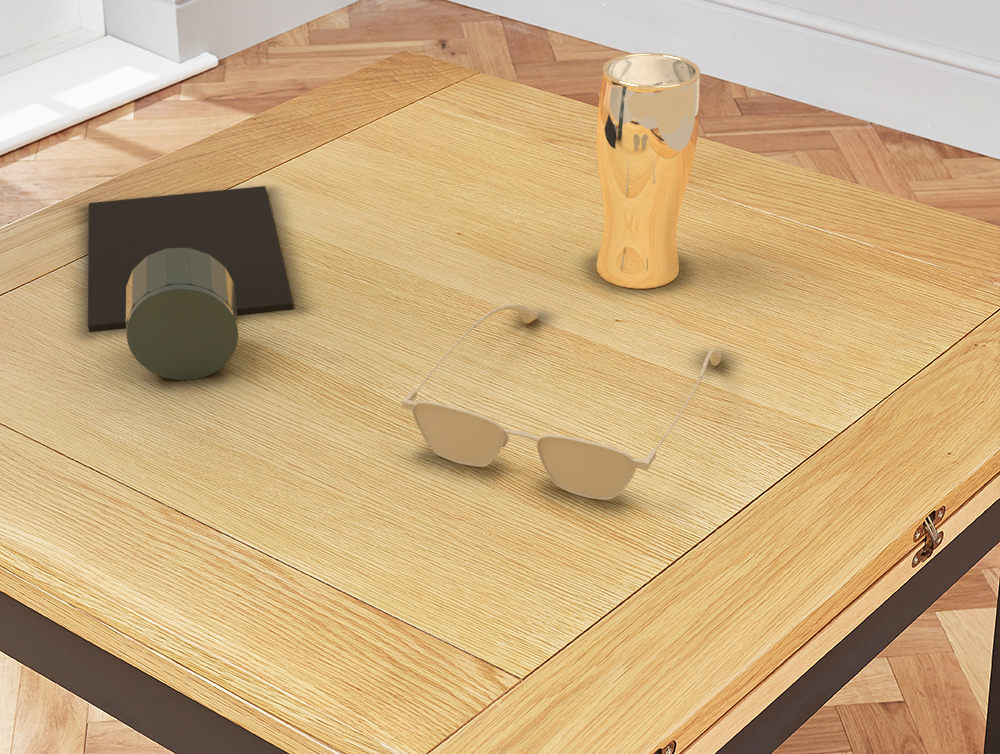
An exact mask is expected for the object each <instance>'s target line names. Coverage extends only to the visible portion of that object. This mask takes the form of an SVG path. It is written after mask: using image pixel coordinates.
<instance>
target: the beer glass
mask: <svg viewBox="0 0 1000 754" xmlns="http://www.w3.org/2000/svg"><path fill="white" fill-rule="evenodd" d="M700 77H701V69H700V67H699V66H698V65H697V64H696V63H694V62H693V61H691V60H689V59H687V58H684V57H681V56H678V55H673V54H667V53H659V52H637V53H635V52H634V53H628V54H622V55H618V56H616V57H613V58H611V59H610V60H607V61H606V62H605V63H604V64H603V66H602V77H601V84H600V91H599V100H598V108H597V119H596V156H597V166H598V174H599V175H598V176H599V183H600V190H601V198H602V207H603V233H602V238H601V243H600V247H599V251H598V254H597V259H596V271H597V273H598V275H599V276H600V277H601V278H602V279H603V280H605V281H606V282H608V283H610V284H612V285H615V286H618V287H622V288H627V289H635V290H646V289H656V288H659V287H663V286H666V285H668V284H670V283H671V282H673V281H674V280H675V279H676V278H677V277H678V275H679V271H680V262H679V255H678V245H677V232H678V231H677V230H678V224H679V223H678V222H679V217H680V213H681V209H682V205H683V201H684V198H685V194H686V191H687V188H688V184H689V181H690V177H691V173H692V169H693V166H694V165H693V164H694V161H695V156H696V150H697V144H698V136H699V122H700V93H701V92H700V85H701V84H700Z"/></svg>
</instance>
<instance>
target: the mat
mask: <svg viewBox="0 0 1000 754" xmlns="http://www.w3.org/2000/svg"><path fill="white" fill-rule="evenodd" d="M167 248H191V249H194V250H197V251H200V252H203V253H206V254H209V255H210V256H212V257H213V258H214V259H215V260H217V261H218V262H219V263H221V264H222V265H223V266H224V267H225V268H226V270H227V272H228V273H229V275H230V277H231V279H232V281H233V283H234V288H235V299H236V309H237V316H241V315H250V314H261V313H267V312H277V311H283V310H284V311H285V310H287V311H288V310H294V307H295V306H294V300H293V296H292V291H291V288H290V284H289V281H288V280H289V279H288V275H287V271H286V267H285V262H284V259H283V255H282V251H281V247H280V242H279V238H278V233H277V228H276V225H275V221H274V215H273V213H272V208H271V204H270V199H269V195H268V191H267V187H266V186H265V185H261V186H251V187H242V188H241V187H240V188H230V189H222V190H221V189H220V190H209V191H200V192H199V191H198V192H188V193H179V194H169V195H161V196H160V195H159V196H157V195H156V196H148V197H137V198H136V197H135V198H125V199H115V200H105V201H96V202H89V203H88V261H87V262H88V266H87V267H88V269H87V270H88V271H87V273H88V274H87V276H88V278H87V286H88V287H87V294H88V295H87V329H88V332H90V333H91V332H101V331H109V330H119V329H126V286H127V283H128V281H129V278H130V276H131V273H132V270H133V269H134V268H135V267H136V266H137V265H138V264H139V263H140V262H141V261H142V260H143V259H144V258H145V257H147V256H148V255H151V254H153V253H156V252H158V251H161V250H164V249H167Z"/></svg>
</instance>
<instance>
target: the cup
mask: <svg viewBox="0 0 1000 754" xmlns="http://www.w3.org/2000/svg"><path fill="white" fill-rule="evenodd" d="M238 323H239V322H238V315H237V309H236V299H235V288H234V283H233V281H232V279H231V277H230V275H229V273H228V272H227V270H226V268H225V267H224V266H223V265H222V264H221V263H219V262H218V261H217V260H215V259H214V258H213V257H212V256H210V255H209V254H206V253H203V252H200V251H197V250H194V249H191V248H167V249H164V250H161V251H158V252H156V253H153V254H151V255H148V256H147V257H145V258H144V259H143V260H142V261H141V262H140V263H139V264H138V265H137V266H136V267H135V268H134V269H133V270H132V273H131V276H130V278H129V281H128V283H127V286H126V328H125V332H126V342H127V345H128V348H129V351H130V352H131V354H132V356H133V358H134V359H136V361H137V362H138V363H139V364H140V366H142V367H144V368H145V369H146V370H148V371H149V372H151V373H153V374H155V375H156V376H159V377H162V378H164V379H170V380H176V381H191V380H192V381H193V380H198V379H202V378H206V377H207V376H210V375H212V374H214V373H215V372H217V371H219V370H220V369H222V368H223V367H224V366H225V365H227V363H228V362H229V361H230V360H231V358H232V357H233V356H234V354H235V351H236V349H237V347H238V342H239V324H238Z"/></svg>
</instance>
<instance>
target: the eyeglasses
mask: <svg viewBox="0 0 1000 754" xmlns="http://www.w3.org/2000/svg"><path fill="white" fill-rule="evenodd" d="M505 310H508V311H514V312H516V313H518V314H519V316H520V318H521V320H522V321H523V322H524V323H525V324H530V323H533V322H534V321H535V320H537V319H538V318H539V316H540V313H538V312H537V310H535V309H533V308H531V307H528V306H526V305H522V304H505V305H501V306H498V307H496V308H493V309H491V310H490V311H488V312H487V313H486V314H484V315H483V316H481V317H480V318H479V319H478V320H477V321H476V322H474V323H472V326H471V327H470V328H469V329H468V331H466V332H465V333H464V334H463V335H462V336H461V337H460V338H459V339H458V341H457V342H456V343H455V344H454V345H453V346H452V347H451V348H450V349H449V350H448V351H447V352H446V353H445V354H444V356H443V357H442V358H441V359H440V360H439V361H438V363H437V364H436V365H435V366H434V367H433V369H432V370H431V371H430V372H429V374H428V375H426V377H425V378H424V379H423V381H422V382H421V383H420V385H419V386H418V387H417V388H416V389H413V388H412V389H411V390H410V391H409V392H408V394H407V395H406V396H405V397H404V398H403V399H402V400H401V408H403V409H406V410H409V411H412V417H413V420H414V422H415V424H416V426H417V428H418V430H419V432H420V434H421V436H422V437H423V439H424V441H425V443H426V444H427V445H428V447H429V449H430V450H431V451H432V452H433V453H435V454H436V455H437V456H439V457H441V458H443V459H445V460H448V461H450V462H453V463H456V464H459V465H464V466H470V467H476V468H477V467H480V468H482V467H487V466H489V465H490V464H491V463H492V462H493V461H495V459H496V458H497V456H498V455H499V453H500V452H501V450H502V448H506V446H507V444H508V441H509V439H510V436H509V435H511V436H518V437H521V438H525V439H527V440H531V441H533V442H536V449H537V454H538V456H539V460H540V461H541V464H542V466H543V468H544V470H545V472H546V474H547V475H548V477H549V478H550V480H551V481H552V483H553V484H554V485H555V486H556V487H558V488H560V489H561V490H564V491H566V492H569V493H571V494H574V495H576V496H580V497H583V498H587V499H592V500H600V501H601V500H602V501H604V500H605V501H606V500H612V499H614V498H616V497H618V496H619V495H620V494H621V493H622V492H623V491H624V489H626V487H627V486H628V484H629V483H630V482H631V480H632V479H633V477H634V475H635V474H636V470H637V469H639V470H644V471H649V469H650V468H651V466H652V464H653V462H654V461H655V459H656V457H657V451H658V449H659V448H660V446H661V445H662V444H663V442H664V440H665V439H666V437H667V436H668V435H669V434H670V432H671V431H672V429H673V427H674V426H675V424H676V423H677V421H678V420H679V419H680V417H681V415H682V414H683V412H684V410H685V408H686V407H687V405H688V403H689V401H690V400H691V398H692V396H693V395H694V393H695V391H696V389H697V387H698V386H699V384H700V381H701V380H702V379H703V377H704V374H705V372H706V370H707V367H708V364H709V362H710V363H711V364H712V366H714V367H716V366H718V365H719V364H720V362H721V359H722V353H721V352H720V350H719V349H718V348H716V347H713V348H711V349H710V350H709V351H708V353H707V354H706V356H705V358H704V361H703V363H702V364H703V365H702V368H701V369H700V373H699V375H698V377H697V380H696V383H695V385H694V386H693V388H692V391H691V393H690V394H689V396H688V397H687V399H686V401H685V402H684V404H683V406H682V408H681V410H680V411H679V412H678V414H677V416H676V418H675V419H674V420H673V422H672V423H671V425H670V427H669V428H668V429H667V431H666V432H665V433H664V435H663V436H662V438H661V439H660V441H659V442H658V444H657V446H656V447H655V448H654V449H652V448H651V449H650V451H649V453H648V454H647V455H646V458H645V459H644V458H643V459H642V458H638V457H633V456H631V454H629V453H628V452H626V451H624V450H621V449H619V448H616V447H614V446H610V445H607V444H603V443H600V442H597V441H596V442H595V441H592V440H587V439H583V438H579V437H573V436H569V435H562V434H555V433H554V434H550V433H547V434H544V435H542V436H540V437H539V436H536V435H533V434H531V433H529V432H526V431H523V430H517V429H506V428H505V429H504V427H503V426H502V425H501V424H500V423H499V422H497V421H496V420H494V419H492V418H490V417H488V416H485V415H482V414H480V413H476V412H474V411H471V410H467V409H463V408H460V407H457V406H453V405H449V404H445V403H441V402H436V401H430V400H419V401H415V400H416V399H417V395H418V392H419V390H420V389H421V388H422V387H423V386H424V384H425V383H426V382H427V381H428V379H429V378H430V377H431V375H432V374H433V373H434V372H435V371H436V369H437V368H439V366H440V364H441V363H442V362H443V361H444V360H445V359H446V358H447V357H448V356H449V354H451V352H452V351H453V350H454V349H455V348H456V347H457V346H458V345H459V344H460V343H461V342H462V341H463V339H465V338H466V336H468V334H469V333H470V332H472V330H474V328H477V327H478V326H479V325H480V324H481V323H482V322H483V321H485V320H486V319H487V318H489V317H490V316H492V315H494V314H496V313H498V312H500V311H505Z"/></svg>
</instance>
